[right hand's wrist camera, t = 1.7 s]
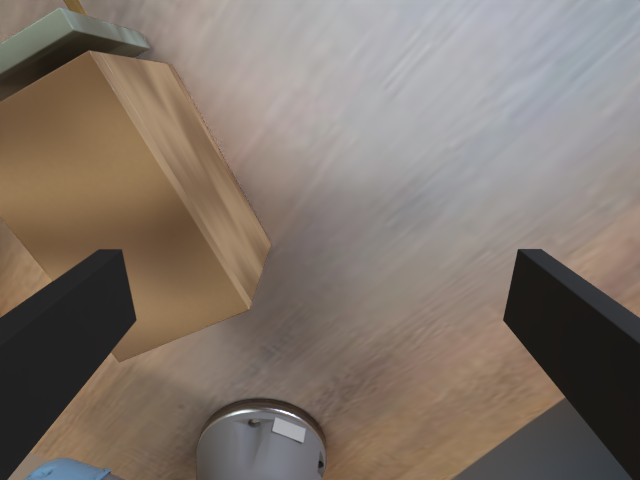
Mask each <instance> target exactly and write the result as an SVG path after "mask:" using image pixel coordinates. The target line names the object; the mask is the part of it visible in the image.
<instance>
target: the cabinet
mask: <svg viewBox="0 0 640 480" xmlns="http://www.w3.org/2000/svg"><path fill="white" fill-rule="evenodd" d="M0 217H1V218H2V219H3V221H4V222H5V223H6V224H7V226H8V227H9V228H10V229H11V231H12V232H13V233H14V234H15V235H16V237H17V238H18V239H19V240H20V242H21V243H22V244H23V245H24V246H25V248H26V249H27V250H28V251H29V253H30V254H31V255H32V256H33V257H34V259H35V260H36V261H37V262H38V264H39V265H40V266H41V267H42V268H43V270H44V271H45V272H46V273H47V275H48V276H49V277H50V278H51V279H52V281H54V280H55V279H57V278H58V277H60V276H61V275H63V274H64V273H65V272H67V271H68V270H70V269H71V268H73V267H74V266H75V265H77V264H78V263H80V262H81V261H83V260H84V259H85V258H87V257H88V256H90V255H91V254H93V253H94V252H95V251H97V250H98V249H122V252H123V257H124V261H125V266H126V271H127V276H128V280H129V285H130V290H131V295H132V299H133V304H134V309H135V314H136V319H137V321H136V322H135V323H134V324H133V325H132V327H131V328H130V329H129V330H128V332H127V333H126V334H125V335H124V337H123V338H122V339H121V340H120V341H119V343H118V344H117V345H116V346H115V348H114V349H113V350H112V351H111V353H112V354H113V355H114V356H115V358H116V359H117V360H118V361H119V362H121V361H124V360H126V359H129V358H131V357H134V356H136V355H139V354H141V353H144V352H146V351H149V350H151V349H153V348H156V347H158V346H161V345H163V344H166V343H168V342H171V341H173V340H176V339H178V338H181V337H183V336H186V335H188V334H190V333H193V332H195V331H198V330H200V329H203V328H205V327H208V326H210V325H213V324H215V323H218V322H220V321H223V320H225V319H227V318H230V317H232V316H235V315H237V314H240V313H242V312H245V311H247V310H249V309H250V306H251V303H252V300H253V297H254V294H255V291H256V288H257V285H258V282H259V280H260V277H261V274H262V271H263V268H264V265H265V262H266V259H267V256H268V253H269V250H270V247H271V243H270V241H269V239H268V238H267V236H266V234H265V232H264V230H263V229H262V227H261V225H260V223H259V221H258V219H257V218H256V216H255V214H254V212H253V210H252V209H251V207H250V205H249V203H248V201H247V200H246V198H245V196H244V194H243V192H242V190H241V189H240V187H239V185H238V183H237V181H236V180H235V178H234V176H233V174H232V172H231V171H230V169H229V167H228V165H227V163H226V161H225V160H224V158H223V156H222V154H221V152H220V151H219V149H218V147H217V145H216V143H215V141H214V140H213V138H212V136H211V134H210V132H209V131H208V129H207V127H206V125H205V123H204V122H203V120H202V118H201V116H200V114H199V112H198V111H197V109H196V107H195V105H194V103H193V102H192V100H191V98H190V96H189V94H188V93H187V91H186V89H185V87H184V85H183V83H182V82H181V80H180V78H179V76H178V74H177V73H176V71H175V69H174V67H173V65H172V64H166V63H160V62H154V61H148V60H142V59H136V58H130V57H125V56H119V55H113V54H107V53H101V52H96V51H90V50H89V51H87V52H85V53H84V54H82V55H80V56H78V57H77V58H75V59H73V60H72V61H70V62H68V63H66V64H65V65H63V66H61V67H60V68H58V69H56V70H54V71H53V72H51V73H49V74H48V75H46V76H44V77H42V78H41V79H39V80H37V81H36V82H34V83H32V84H30V85H29V86H27V87H25V88H23V89H22V90H20V91H18V92H17V93H15V94H13V95H11V96H10V97H8V98H6V99H5V100H3V101H1V102H0Z"/></svg>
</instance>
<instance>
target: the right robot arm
mask: <svg viewBox="0 0 640 480" xmlns="http://www.w3.org/2000/svg"><path fill="white" fill-rule="evenodd" d="M136 321H137V319H136V314H135V309H134V304H133V299H132V295H131V290H130V285H129V280H128V276H127V271H126V266H125V261H124V257H123V252H122V249H98V250H97V251H95V252H94V253H93V254H91V255H90V256H88V257H87V258H85V259H84V260H83V261H81V262H80V263H78V264H77V265H75V266H74V267H73V268H71V269H70V270H68V271H67V272H65V273H64V274H63V275H61V276H60V277H58V278H57V279H55V280H54V281H53V282H51V283H50V284H48V285H47V286H45V287H44V288H43V289H41V290H40V291H38V292H37V293H35V294H34V295H32V296H31V297H30V298H28V299H27V300H25V301H24V302H22V303H21V304H20V305H18V306H17V307H15V308H14V309H12V310H11V311H10V312H8V313H7V314H5V315H4V316H2V317H1V318H0V480H7V479H8V478H9V477H10V476H11V474H12V473H13V472H14V471H15V469H16V468H17V467H18V466H19V464H20V463H21V462H22V461H23V460H24V458H25V457H26V456H27V455H28V454H29V452H30V451H31V450H32V449H33V447H34V446H35V445H36V444H37V442H38V441H39V440H40V439H41V438H42V436H43V435H44V434H45V433H46V431H47V430H48V429H49V428H50V426H51V425H52V424H53V423H54V422H55V420H56V419H57V418H58V417H59V415H60V414H61V413H62V412H63V410H64V409H65V408H66V407H67V405H68V404H69V403H70V402H71V401H72V399H73V398H74V397H75V396H76V394H77V393H78V392H79V391H80V389H81V388H82V387H83V386H84V385H85V383H86V382H87V381H88V380H89V378H90V377H91V376H92V375H93V373H94V372H95V371H96V370H97V369H98V367H99V366H100V365H101V364H102V362H103V361H104V360H105V359H106V357H107V356H108V355H109V354H110V353H111V351H112V350H113V349H114V348H115V346H116V345H117V344H118V343H119V341H120V340H121V339H122V338H123V337H124V335H125V334H126V333H127V332H128V330H129V329H130V328H131V327H132V325H133V324H134V323H135V322H136ZM503 321H504V322H505V323H506V324H507V325H508V327H509V328H510V329H511V330H512V332H513V333H514V334H515V335H516V337H517V338H518V339H519V340H520V341H521V343H522V344H523V345H524V346H525V348H526V349H527V350H528V351H529V353H530V354H531V355H532V356H533V357H534V359H535V360H536V361H537V362H538V364H539V365H540V366H541V367H542V369H543V370H544V371H545V372H546V373H547V375H548V376H549V377H550V378H551V380H552V381H553V382H554V383H555V385H556V386H557V387H558V388H559V389H560V391H561V392H562V393H563V394H564V396H565V397H566V398H567V399H568V401H569V402H570V403H571V404H572V405H573V407H574V408H575V409H576V410H577V412H578V413H579V414H580V415H581V417H582V418H583V419H584V420H585V422H586V423H587V424H588V425H589V426H590V428H591V429H592V430H593V431H594V433H595V434H596V435H597V436H598V438H599V439H600V440H601V441H602V442H603V444H604V445H605V446H606V447H607V449H608V450H609V451H610V452H611V453H612V455H613V456H614V457H615V458H616V460H617V461H618V462H619V463H620V465H621V466H622V467H623V468H624V469H625V471H626V472H627V473H628V474H629V476H630V477H631V478H632V479H633V480H640V318H639V317H638V316H636V315H635V314H633V313H632V312H630V311H629V310H628V309H626V308H625V307H623V306H622V305H620V304H619V303H618V302H616V301H615V300H613V299H612V298H610V297H609V296H608V295H606V294H605V293H603V292H602V291H600V290H599V289H597V288H596V287H595V286H593V285H592V284H590V283H589V282H587V281H586V280H585V279H583V278H582V277H580V276H579V275H577V274H576V273H575V272H573V271H572V270H570V269H569V268H567V267H566V266H565V265H563V264H562V263H560V262H559V261H557V260H556V259H555V258H553V257H552V256H550V255H549V254H547V253H546V252H545V251H543V250H542V249H518V252H517V257H516V261H515V266H514V271H513V276H512V280H511V285H510V290H509V295H508V299H507V304H506V309H505V314H504V318H503ZM325 468H326V440H325V436H324V434H323V432H322V430H321V428H320V427H319V425H318V424H317V423H316V421H315V420H314V419H313V418H312V417H310V416H309V415H308V414H307V413H305V412H304V411H302V410H301V409H299V408H297V407H295V406H292V405H290V404H287V403H284V402H280V401H276V400H269V399H249V400H243V401H239V402H235V403H232V404H230V405H227V406H225V407H223V408H222V409H220V410H219V411H217V412H216V413H215V414H213V415H212V416H211V417H210V418H209V420H208V421H207V422H206V424H205V426H204V428H203V430H202V433H201V436H200V439H199V442H198V445H197V449H196V480H322V477H323V474H324V471H325ZM110 472H111V470H110V469H108V468H106V469H103V470H102V469H100V468H97V467H94V466H91V465H88V464H85V463H82V462H79V461H76V460H73V459H70V458H57V459H53V460H50V461H48V462H46V463H44V464H42V465H41V466H40V467H38V468H37V469H35V470H34V471H33V472H32V473H31V474H29V475H28V476H27V477H26V478H25V479H24V480H125V479H122V478H120V477H117V476H115V475H113V474H110Z"/></svg>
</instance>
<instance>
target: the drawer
mask: <svg viewBox="0 0 640 480" xmlns="http://www.w3.org/2000/svg"><path fill="white" fill-rule="evenodd" d="M64 2H65V3H66V5H67V6H68V8H69V10H67V9H64V8H61V7H60V8H58V9H56V10H54V11H53V12H51V13H50V14H48V15H46V16H45V17H43V18H41V19H40V20H38V21H37V22H35V23H33V24H32V25H30V26H28V27H27V28H25V29H24V30H22V31H20V32H19V33H17V34H15V35H14V36H12V37H11V38H9V39H7V40H6V41H4V42H2V43H1V44H0V102H1V101H3V100H5V99H6V98H8V97H10V96H11V95H13V94H15V93H17V92H18V91H20V90H22V89H23V88H25V87H27V86H29V85H30V84H32V83H34V82H36V81H37V80H39V79H41V78H42V77H44V76H46V75H48V74H49V73H51V72H53V71H54V70H56V69H58V68H60V67H61V66H63V65H65V64H66V63H68V62H70V61H72V60H73V59H75V58H77V57H78V56H80V55H82V54H84V53H85V52H87V51H89V50H90V51H96V52H101V53H107V54H113V55H119V56H125V57H130V58H134V57H136V56H138V55H140V54H141V53H143V52H145V51H147V50H148V49H150V48H149V46H148V44H147V42H146V40H145V39H144V37H143V35H142V33H140V32H137V31H133V30H130V29H127V28H124V27H121V26H118V25H114V24H111V23H108V22H105V21H102V20H99V19H95V18H92V17H89V16H87V15H86V13H85V11H84V10H83V8H82V6H81V5H80V3H79V1H78V0H64Z"/></svg>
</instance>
